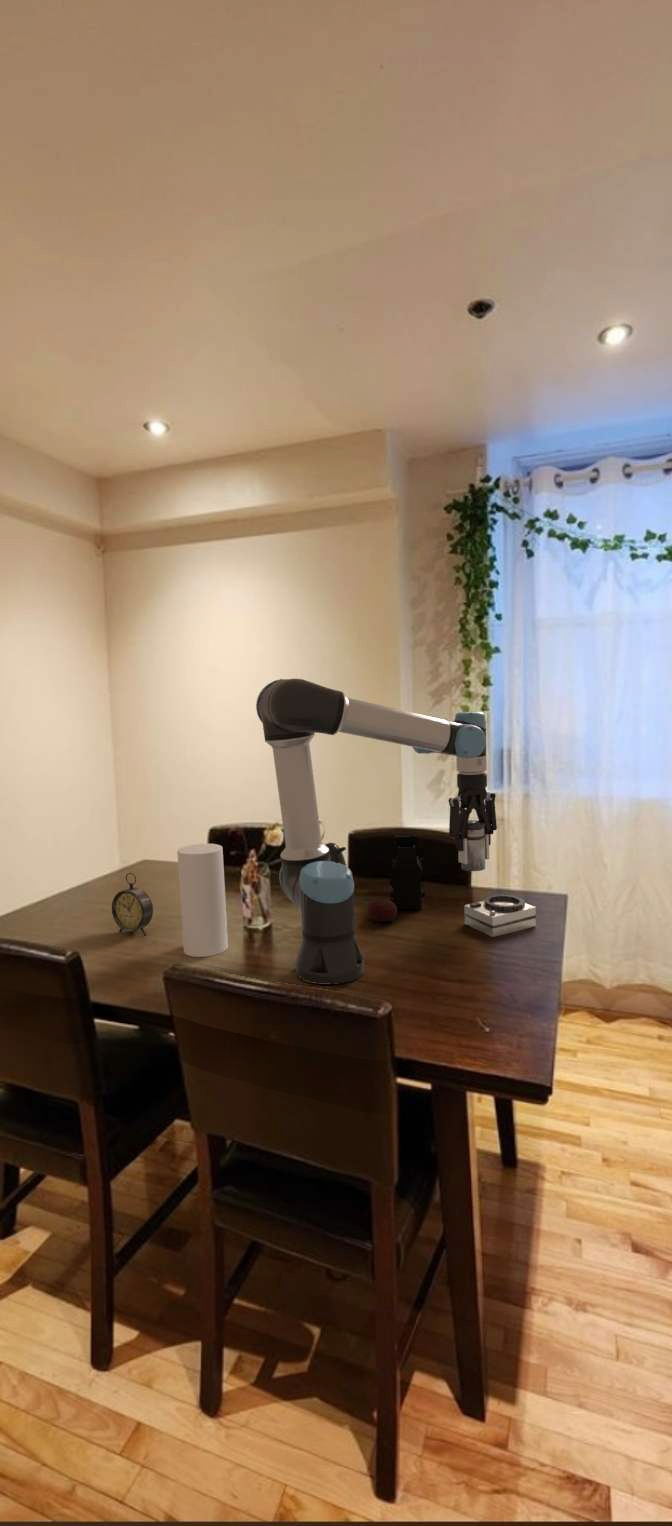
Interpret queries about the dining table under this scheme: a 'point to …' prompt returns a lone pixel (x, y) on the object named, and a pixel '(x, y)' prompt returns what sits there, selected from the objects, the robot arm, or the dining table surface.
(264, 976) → the dining table surface
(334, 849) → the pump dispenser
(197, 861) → the tall pillar cylinder
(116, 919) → the alarm clock
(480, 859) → the lens
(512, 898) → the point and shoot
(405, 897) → the camera
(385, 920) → the potato
